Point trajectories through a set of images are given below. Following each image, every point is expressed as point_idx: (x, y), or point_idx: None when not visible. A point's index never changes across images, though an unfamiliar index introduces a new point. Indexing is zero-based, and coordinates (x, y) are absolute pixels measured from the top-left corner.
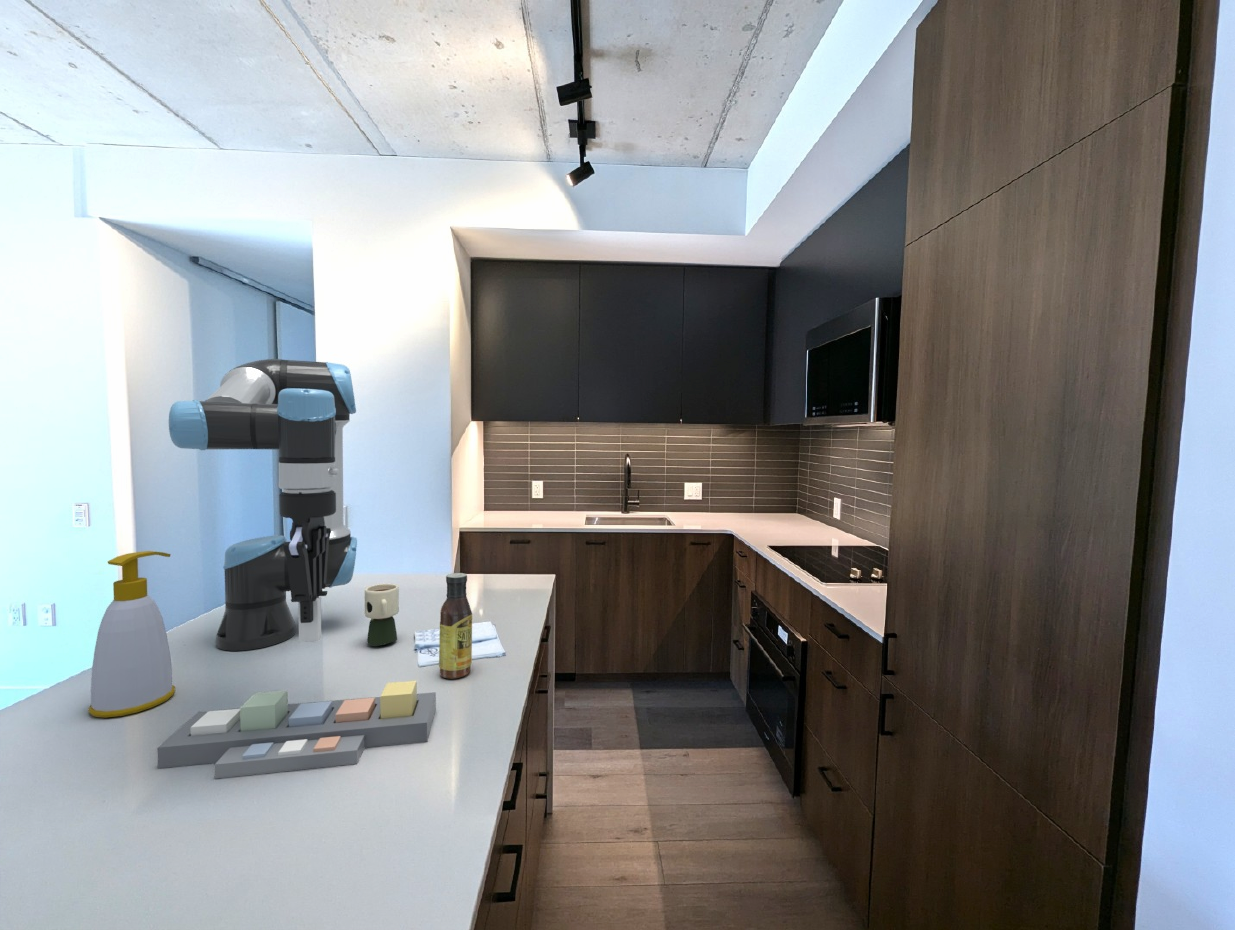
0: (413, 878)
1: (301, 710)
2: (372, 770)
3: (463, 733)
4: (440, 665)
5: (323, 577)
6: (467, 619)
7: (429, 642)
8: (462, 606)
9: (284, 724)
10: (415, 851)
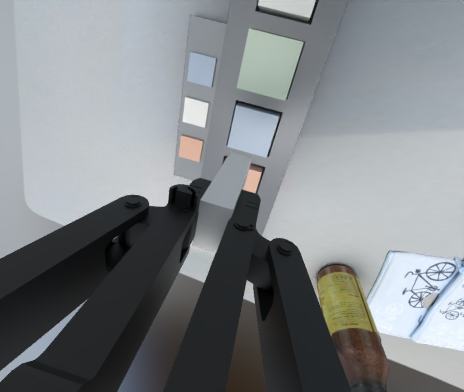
0: (50, 192)
1: (255, 119)
2: (164, 180)
3: (199, 251)
4: (336, 274)
5: (257, 313)
6: None
7: (462, 281)
8: None
9: (246, 96)
10: (70, 196)
